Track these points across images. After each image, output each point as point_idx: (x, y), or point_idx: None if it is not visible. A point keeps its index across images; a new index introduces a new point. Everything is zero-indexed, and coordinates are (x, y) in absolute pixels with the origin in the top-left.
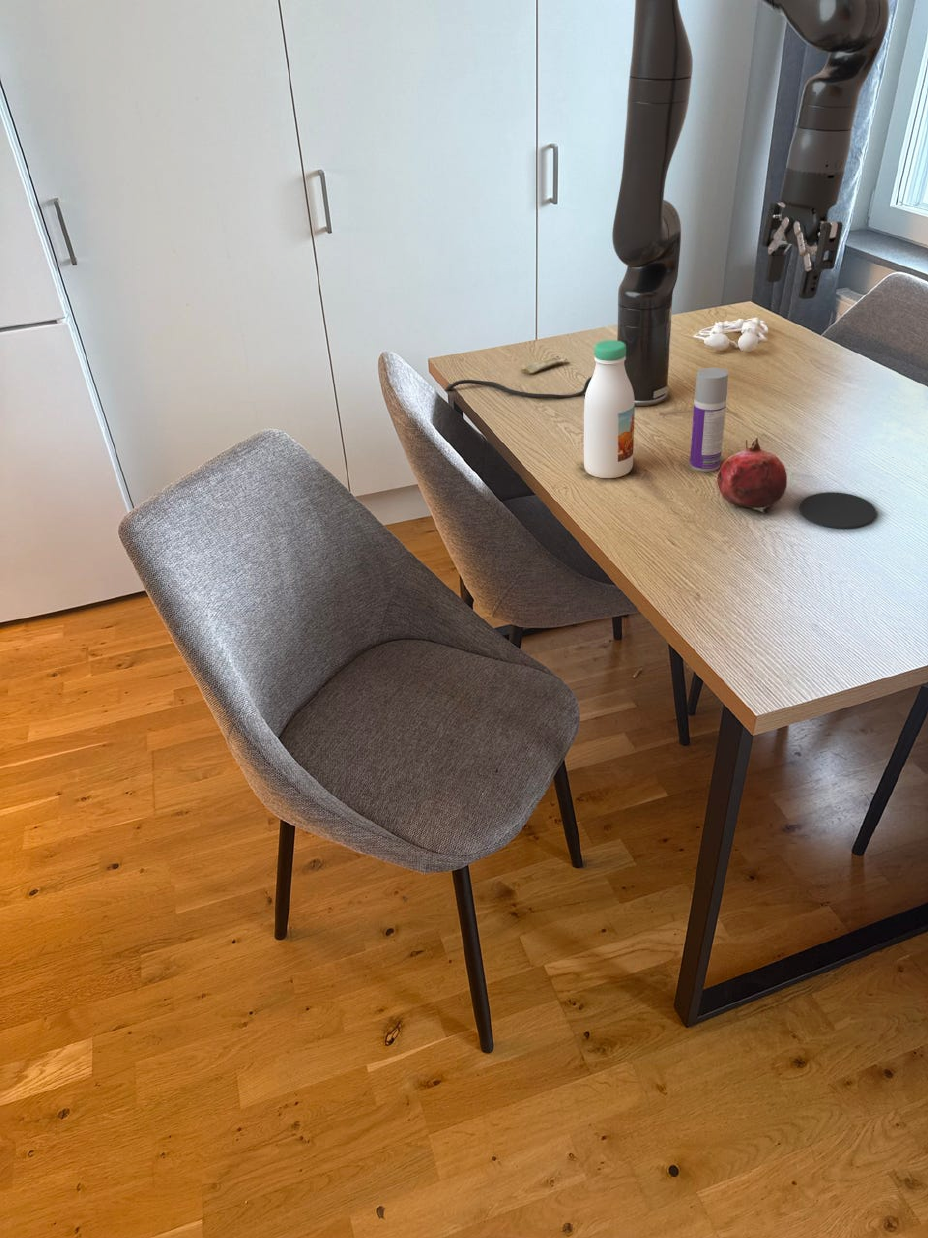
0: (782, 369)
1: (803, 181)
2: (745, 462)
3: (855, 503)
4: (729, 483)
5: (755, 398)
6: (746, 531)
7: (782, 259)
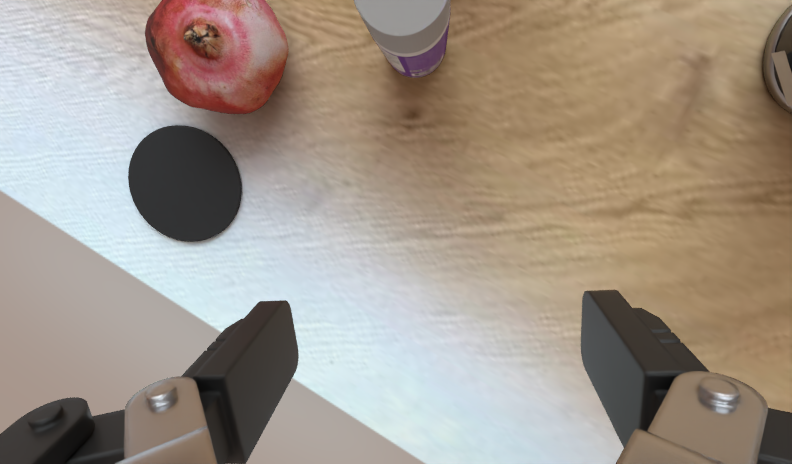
0: None
1: None
2: (167, 2)
3: (193, 220)
4: None
5: (672, 289)
6: None
7: (622, 430)
